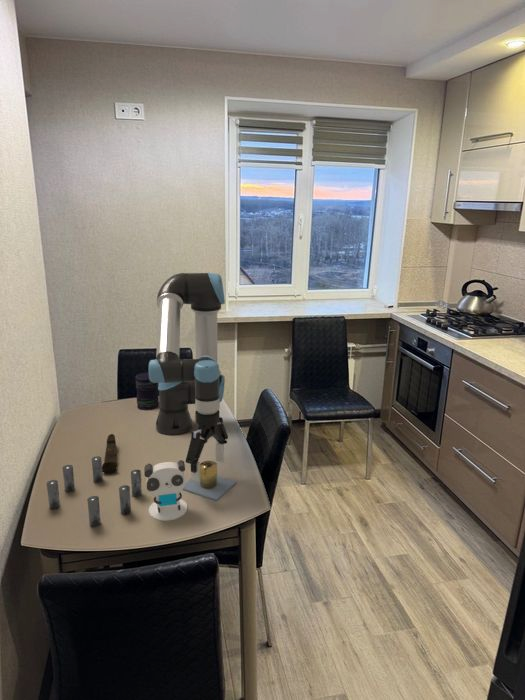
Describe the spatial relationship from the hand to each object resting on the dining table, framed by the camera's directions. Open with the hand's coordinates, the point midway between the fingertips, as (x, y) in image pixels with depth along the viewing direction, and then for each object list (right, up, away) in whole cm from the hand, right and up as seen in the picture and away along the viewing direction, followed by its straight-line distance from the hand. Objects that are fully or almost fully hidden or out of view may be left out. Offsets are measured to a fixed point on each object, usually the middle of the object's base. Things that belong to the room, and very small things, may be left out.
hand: (208, 470), depth 154 cm
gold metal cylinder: (0, -5, +1) cm, 5 cm away
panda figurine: (-11, -9, -12) cm, 18 cm away
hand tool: (-38, -1, +18) cm, 42 cm away
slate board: (0, -5, +1) cm, 6 cm away
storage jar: (-35, +13, +66) cm, 76 cm away
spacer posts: (-33, -7, -8) cm, 35 cm away
